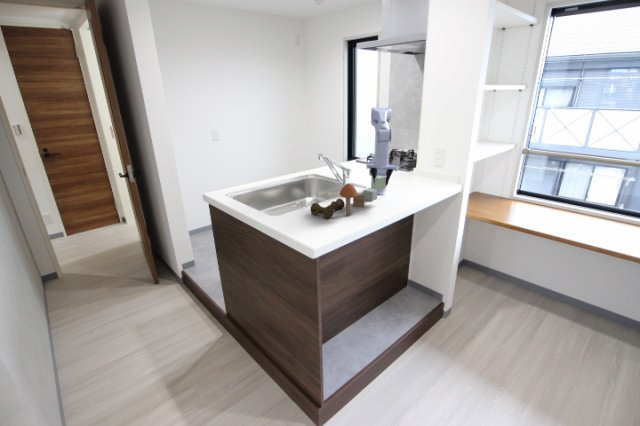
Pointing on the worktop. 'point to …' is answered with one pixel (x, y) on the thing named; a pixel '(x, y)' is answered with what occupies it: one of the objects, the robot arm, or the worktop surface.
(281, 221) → the worktop surface
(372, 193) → the grey cube
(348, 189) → the mushroom
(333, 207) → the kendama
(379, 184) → the sage cube
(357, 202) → the walnut cube
